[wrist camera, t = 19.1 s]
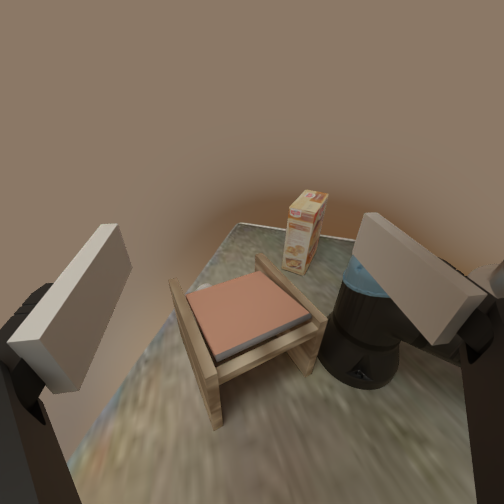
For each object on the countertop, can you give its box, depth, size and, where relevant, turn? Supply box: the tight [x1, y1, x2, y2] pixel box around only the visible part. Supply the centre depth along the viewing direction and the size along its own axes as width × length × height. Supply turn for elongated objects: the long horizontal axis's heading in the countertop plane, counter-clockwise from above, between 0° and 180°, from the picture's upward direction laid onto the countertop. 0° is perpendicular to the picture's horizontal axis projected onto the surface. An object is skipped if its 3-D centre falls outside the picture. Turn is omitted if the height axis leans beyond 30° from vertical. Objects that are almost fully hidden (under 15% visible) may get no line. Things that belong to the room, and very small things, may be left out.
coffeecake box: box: [281, 190, 329, 276], centre depth 68 cm, size 15×7×20 cm, turn 153°
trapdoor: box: [186, 271, 312, 362], centre depth 39 cm, size 15×16×1 cm
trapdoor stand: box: [168, 253, 328, 431], centre depth 43 cm, size 19×20×15 cm
